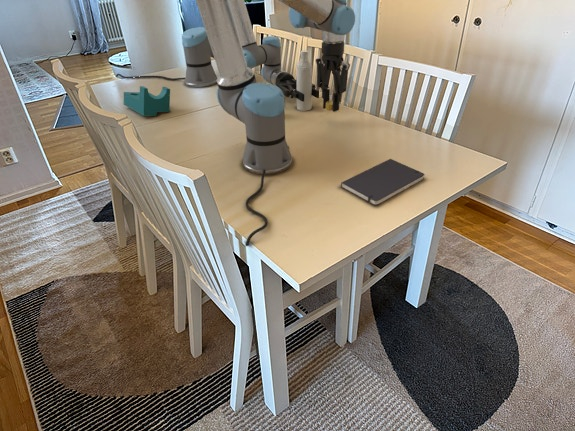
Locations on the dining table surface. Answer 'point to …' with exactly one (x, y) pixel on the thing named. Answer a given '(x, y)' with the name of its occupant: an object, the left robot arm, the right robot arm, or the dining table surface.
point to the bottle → (304, 81)
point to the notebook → (382, 181)
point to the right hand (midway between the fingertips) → (330, 108)
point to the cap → (329, 105)
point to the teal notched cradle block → (148, 101)
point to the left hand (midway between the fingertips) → (310, 96)
